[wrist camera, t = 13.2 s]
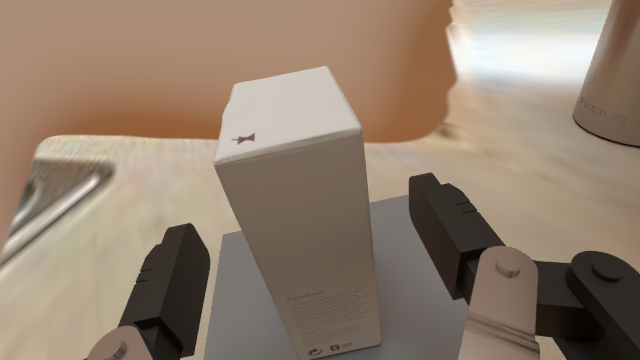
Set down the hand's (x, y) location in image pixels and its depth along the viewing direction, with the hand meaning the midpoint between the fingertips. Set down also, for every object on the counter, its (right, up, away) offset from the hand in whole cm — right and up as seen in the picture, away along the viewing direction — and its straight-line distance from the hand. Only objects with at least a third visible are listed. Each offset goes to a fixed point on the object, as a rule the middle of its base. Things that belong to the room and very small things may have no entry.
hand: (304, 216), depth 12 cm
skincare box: (+1, -6, +6) cm, 8 cm away
